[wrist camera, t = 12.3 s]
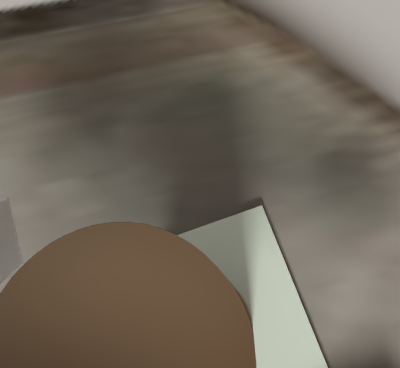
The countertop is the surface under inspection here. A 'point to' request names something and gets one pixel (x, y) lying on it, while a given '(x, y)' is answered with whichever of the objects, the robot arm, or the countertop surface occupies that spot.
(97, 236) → the walnut roller
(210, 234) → the mat
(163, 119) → the countertop surface
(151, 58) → the countertop surface
